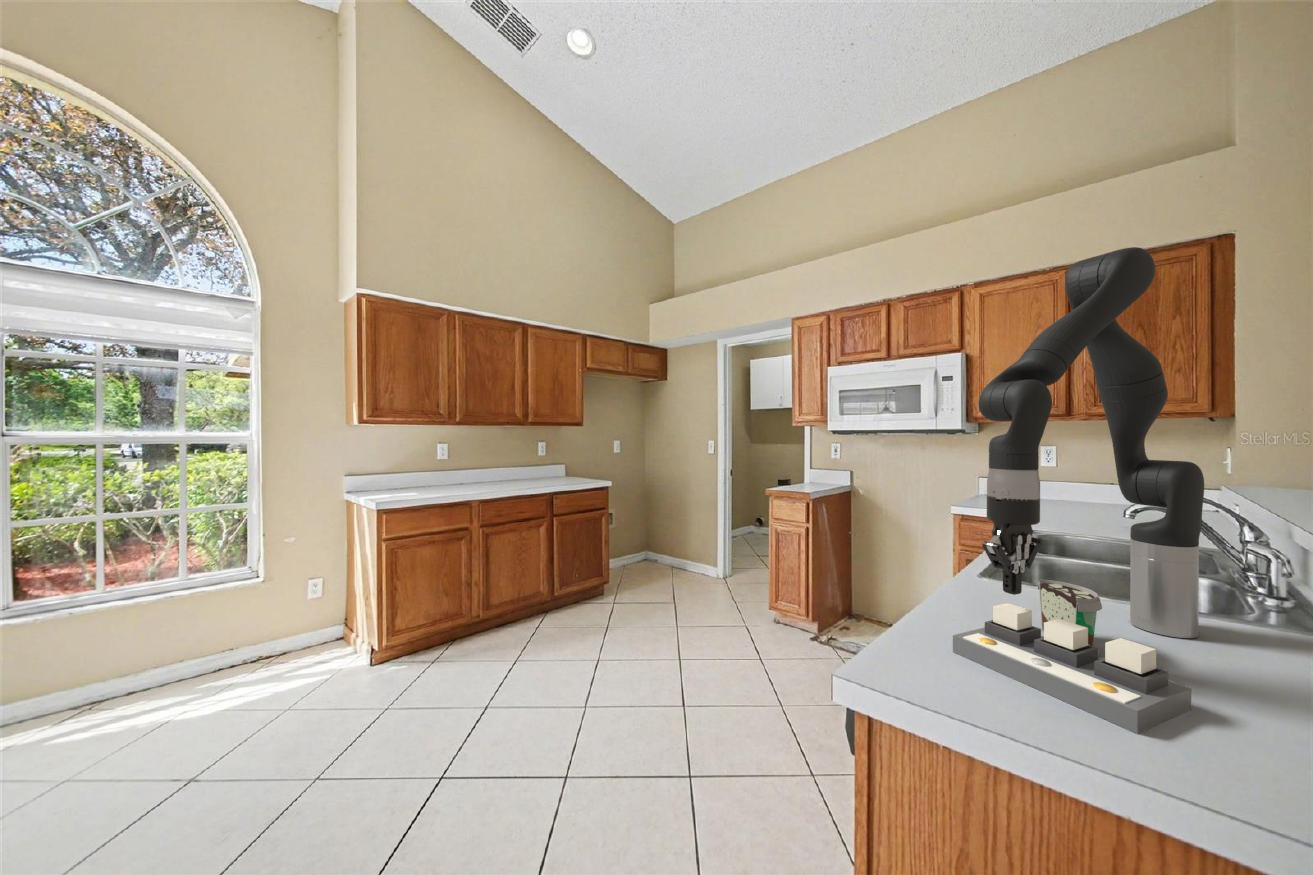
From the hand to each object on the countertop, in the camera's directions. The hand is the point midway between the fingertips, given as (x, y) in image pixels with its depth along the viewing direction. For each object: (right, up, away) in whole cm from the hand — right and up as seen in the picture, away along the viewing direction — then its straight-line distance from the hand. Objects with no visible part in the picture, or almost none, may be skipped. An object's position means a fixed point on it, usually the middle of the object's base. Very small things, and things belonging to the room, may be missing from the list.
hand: (1012, 592), depth 84 cm
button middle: (+3, -6, -7) cm, 10 cm away
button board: (+1, -11, -8) cm, 14 cm away
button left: (0, -6, 0) cm, 6 cm away
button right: (+6, -6, -15) cm, 17 cm away
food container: (+15, -11, +4) cm, 19 cm away
